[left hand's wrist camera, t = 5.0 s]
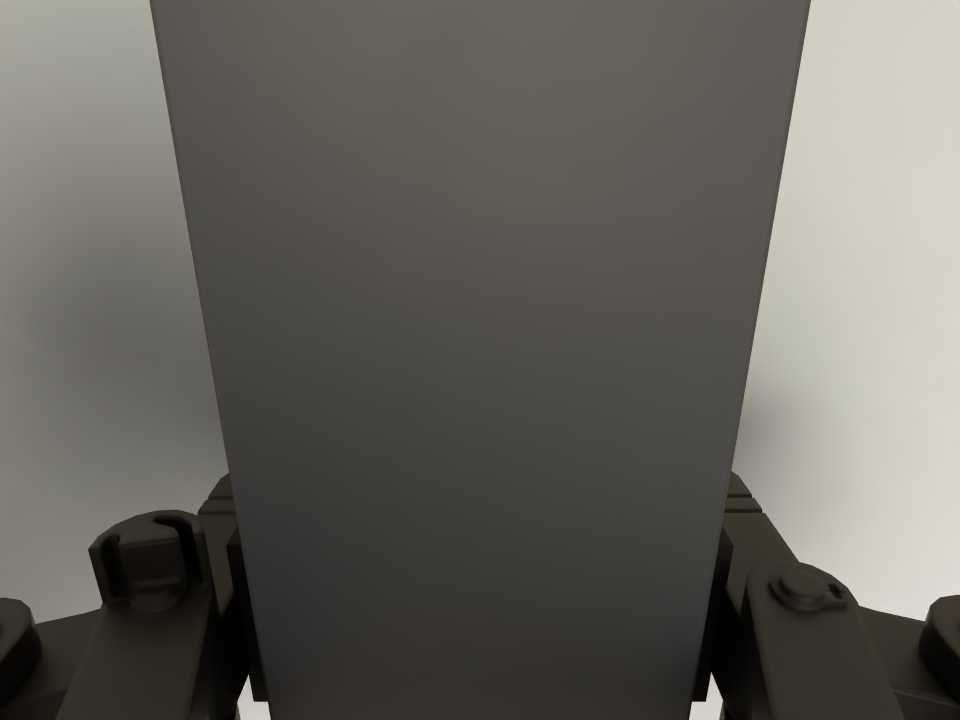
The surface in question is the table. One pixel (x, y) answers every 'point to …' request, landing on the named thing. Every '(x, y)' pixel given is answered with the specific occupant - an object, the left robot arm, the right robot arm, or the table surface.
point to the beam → (480, 332)
